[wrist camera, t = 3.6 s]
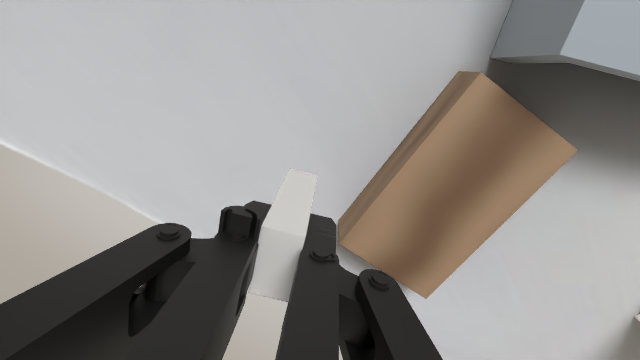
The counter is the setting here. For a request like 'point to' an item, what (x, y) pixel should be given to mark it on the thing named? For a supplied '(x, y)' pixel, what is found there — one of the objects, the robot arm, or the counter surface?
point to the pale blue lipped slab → (573, 34)
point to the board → (451, 183)
